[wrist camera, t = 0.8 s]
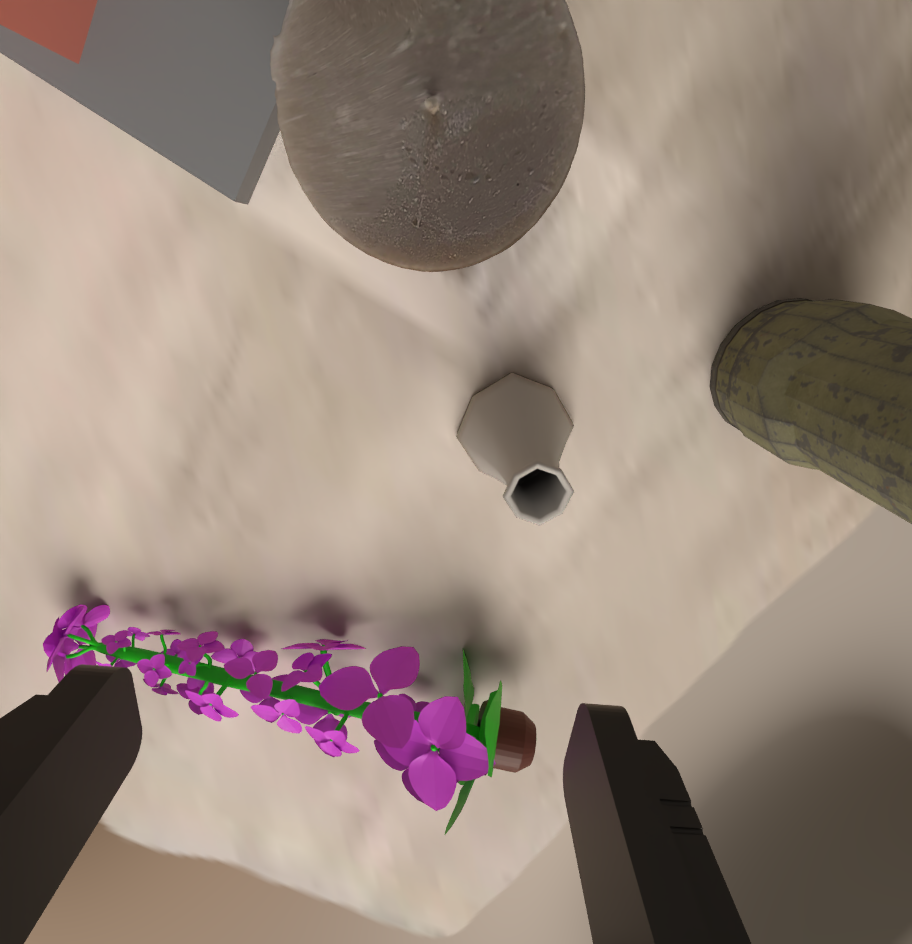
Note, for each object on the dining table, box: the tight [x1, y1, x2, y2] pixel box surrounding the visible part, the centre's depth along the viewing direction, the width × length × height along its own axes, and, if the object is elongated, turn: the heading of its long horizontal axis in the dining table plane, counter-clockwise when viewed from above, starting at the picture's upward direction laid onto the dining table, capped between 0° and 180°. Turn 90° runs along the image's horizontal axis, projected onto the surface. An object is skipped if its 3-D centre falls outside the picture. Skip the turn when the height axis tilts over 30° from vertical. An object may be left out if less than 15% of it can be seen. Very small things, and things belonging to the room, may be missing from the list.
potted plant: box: [43, 605, 536, 834], centre depth 38 cm, size 12×16×35 cm
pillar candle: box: [270, 0, 585, 272], centre depth 22 cm, size 10×10×15 cm
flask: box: [456, 373, 574, 525], centre depth 30 cm, size 7×7×10 cm
